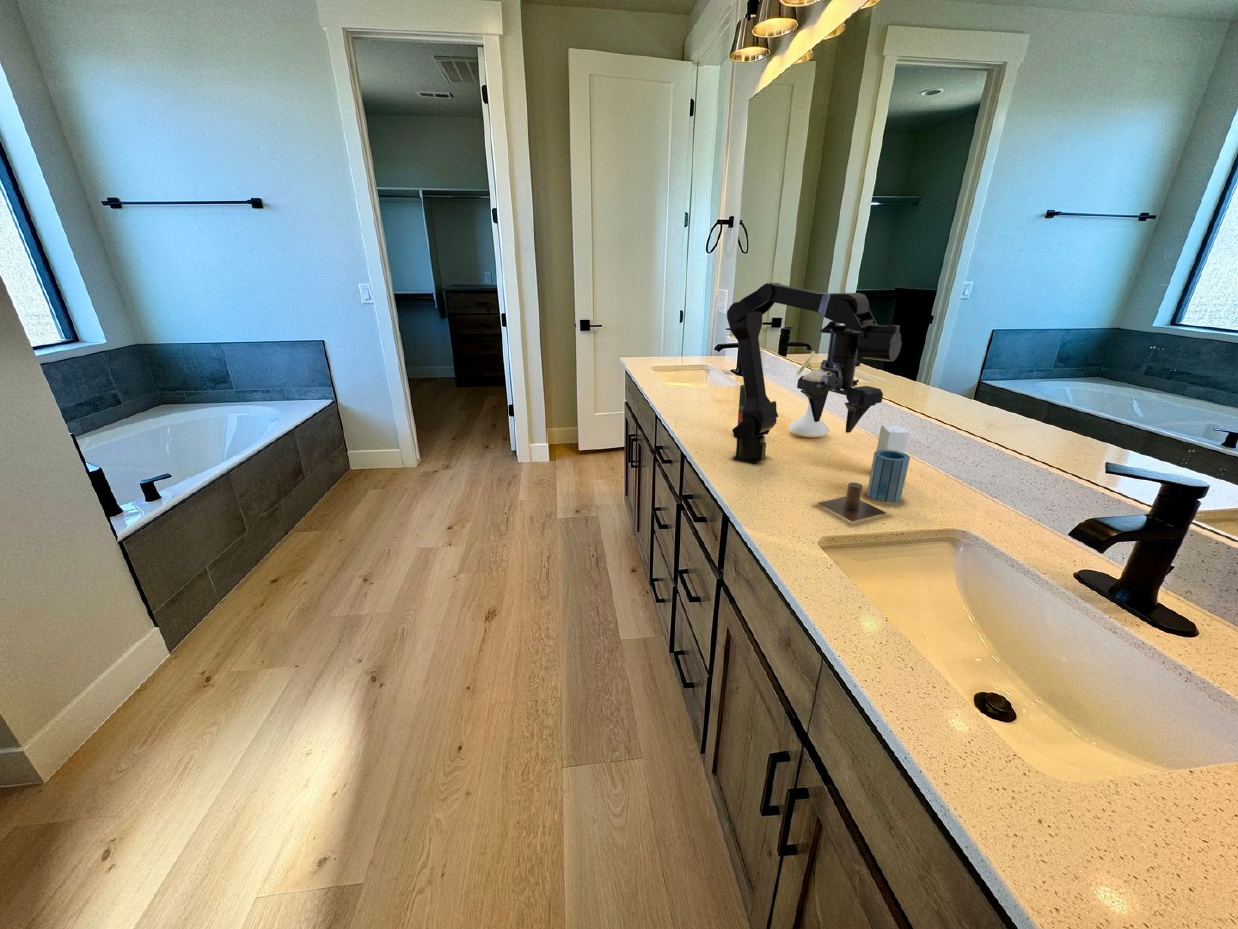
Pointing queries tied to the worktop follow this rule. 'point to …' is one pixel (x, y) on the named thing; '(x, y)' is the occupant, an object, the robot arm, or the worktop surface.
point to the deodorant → (741, 403)
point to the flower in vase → (808, 416)
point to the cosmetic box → (892, 438)
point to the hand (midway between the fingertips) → (831, 426)
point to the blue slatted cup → (888, 475)
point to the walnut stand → (852, 505)
